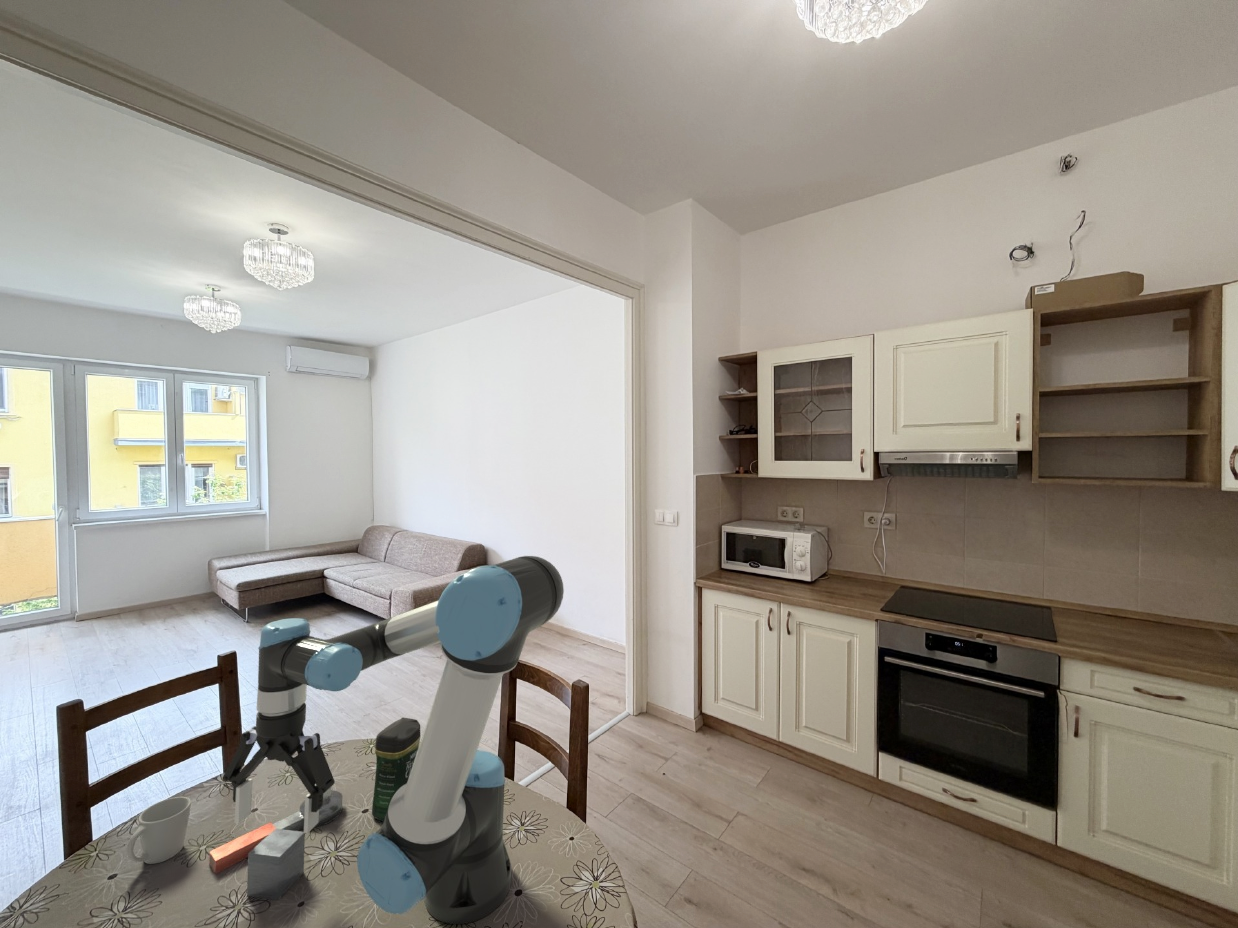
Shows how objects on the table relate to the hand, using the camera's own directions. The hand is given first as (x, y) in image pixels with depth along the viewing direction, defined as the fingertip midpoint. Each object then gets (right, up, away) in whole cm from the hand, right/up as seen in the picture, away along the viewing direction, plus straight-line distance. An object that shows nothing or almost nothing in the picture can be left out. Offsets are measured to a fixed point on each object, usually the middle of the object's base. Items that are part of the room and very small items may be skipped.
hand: (276, 823), depth 90 cm
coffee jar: (+13, -12, +20) cm, 26 cm away
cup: (-26, -10, +5) cm, 29 cm away
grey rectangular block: (0, -11, 0) cm, 11 cm away
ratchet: (-7, -11, +12) cm, 17 cm away
